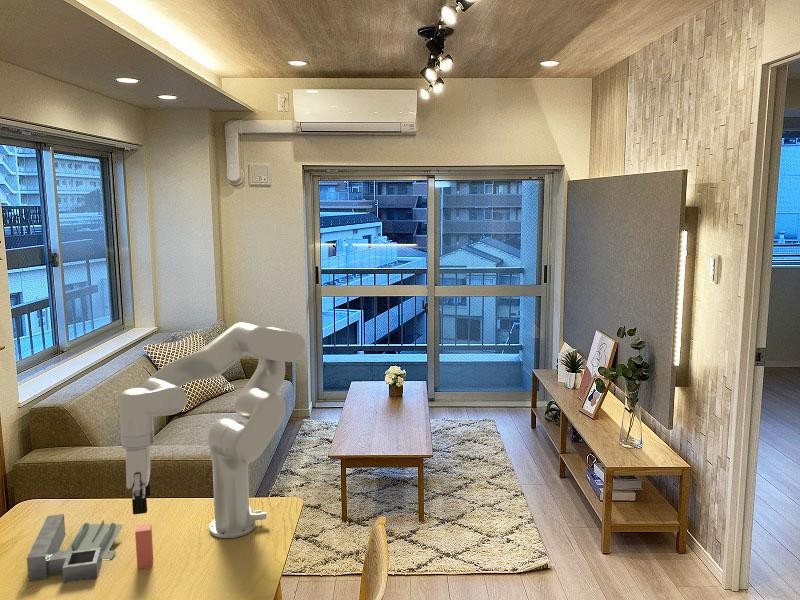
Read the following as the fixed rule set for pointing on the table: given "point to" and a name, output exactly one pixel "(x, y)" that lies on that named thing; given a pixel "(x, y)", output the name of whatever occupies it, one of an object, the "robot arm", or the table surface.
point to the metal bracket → (95, 538)
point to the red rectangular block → (144, 546)
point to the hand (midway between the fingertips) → (141, 504)
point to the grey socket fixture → (60, 555)
